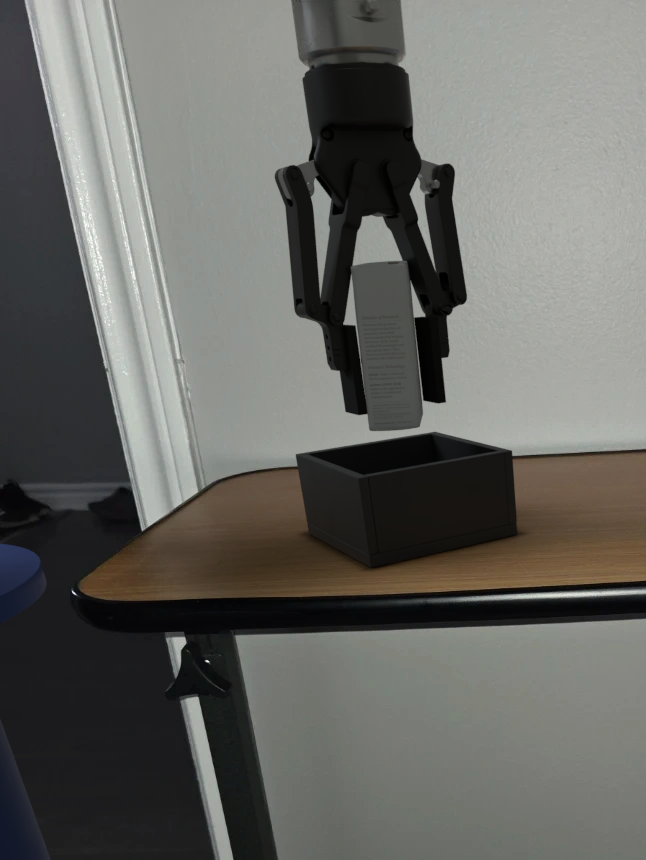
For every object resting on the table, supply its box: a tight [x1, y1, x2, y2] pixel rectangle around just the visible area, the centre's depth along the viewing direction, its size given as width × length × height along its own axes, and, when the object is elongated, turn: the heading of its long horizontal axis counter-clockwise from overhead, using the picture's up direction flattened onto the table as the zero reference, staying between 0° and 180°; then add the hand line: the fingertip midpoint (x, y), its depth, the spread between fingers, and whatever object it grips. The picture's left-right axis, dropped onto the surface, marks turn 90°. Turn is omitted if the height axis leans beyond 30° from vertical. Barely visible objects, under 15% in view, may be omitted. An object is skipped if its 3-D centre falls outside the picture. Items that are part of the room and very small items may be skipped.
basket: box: [295, 431, 518, 569], centre depth 79 cm, size 14×14×7 cm
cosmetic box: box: [351, 260, 424, 432], centre depth 74 cm, size 6×4×12 cm
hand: (396, 406), depth 76 cm, fingers closed on cosmetic box, 6 cm apart
